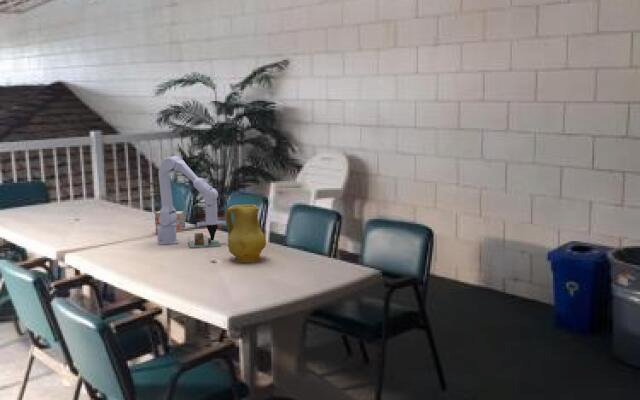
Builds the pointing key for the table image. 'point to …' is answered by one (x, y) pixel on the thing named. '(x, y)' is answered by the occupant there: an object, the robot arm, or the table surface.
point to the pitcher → (244, 233)
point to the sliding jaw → (206, 240)
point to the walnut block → (199, 239)
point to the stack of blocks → (179, 223)
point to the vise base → (192, 245)
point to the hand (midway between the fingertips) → (212, 240)
